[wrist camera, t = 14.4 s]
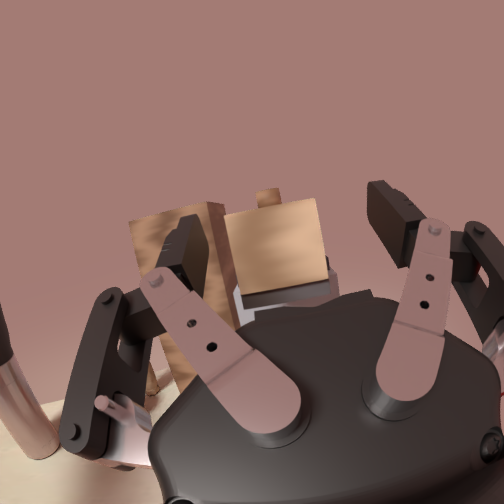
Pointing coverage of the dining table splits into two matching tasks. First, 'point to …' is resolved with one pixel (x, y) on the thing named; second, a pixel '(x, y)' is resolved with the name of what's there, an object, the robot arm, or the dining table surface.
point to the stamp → (278, 251)
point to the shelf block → (217, 277)
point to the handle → (151, 382)
